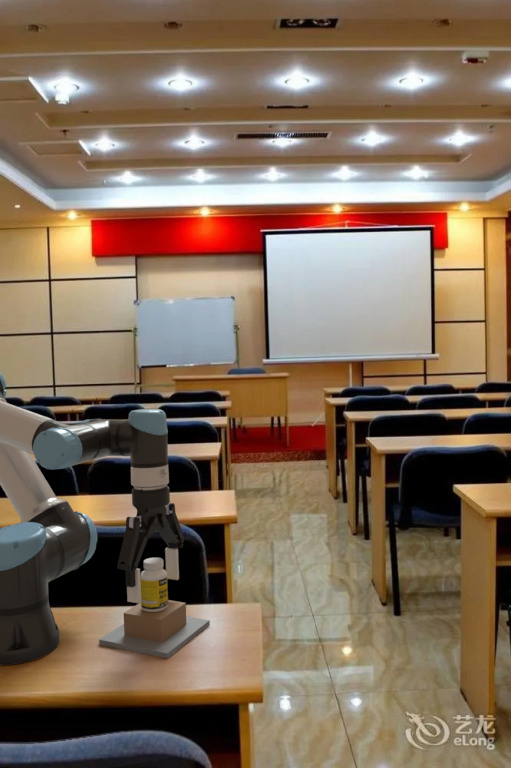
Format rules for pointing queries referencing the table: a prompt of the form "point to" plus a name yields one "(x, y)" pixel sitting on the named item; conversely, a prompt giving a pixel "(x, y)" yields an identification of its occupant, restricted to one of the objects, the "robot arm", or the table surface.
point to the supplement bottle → (154, 586)
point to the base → (153, 645)
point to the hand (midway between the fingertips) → (154, 589)
